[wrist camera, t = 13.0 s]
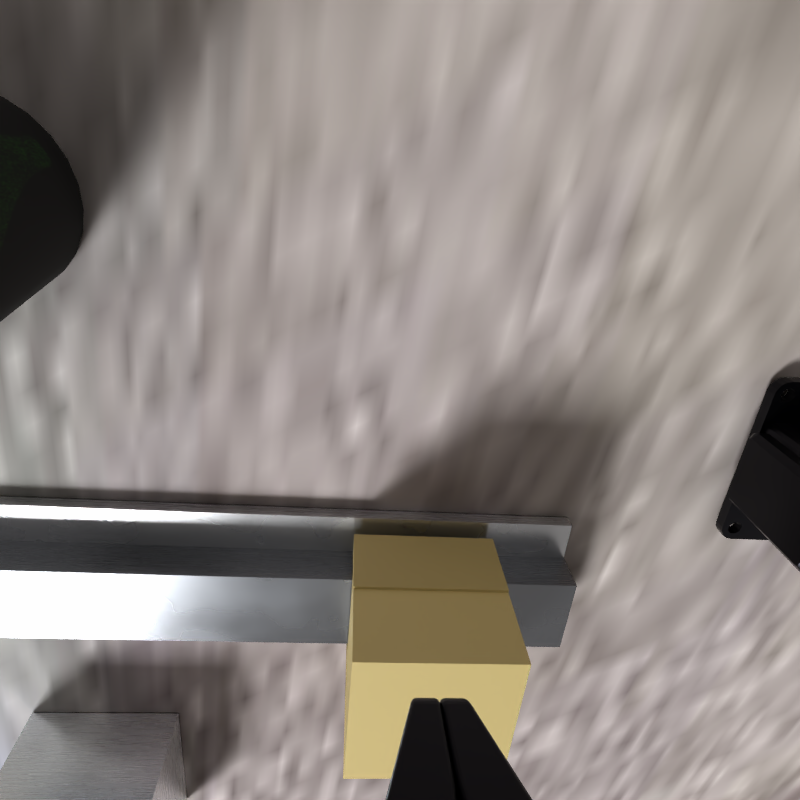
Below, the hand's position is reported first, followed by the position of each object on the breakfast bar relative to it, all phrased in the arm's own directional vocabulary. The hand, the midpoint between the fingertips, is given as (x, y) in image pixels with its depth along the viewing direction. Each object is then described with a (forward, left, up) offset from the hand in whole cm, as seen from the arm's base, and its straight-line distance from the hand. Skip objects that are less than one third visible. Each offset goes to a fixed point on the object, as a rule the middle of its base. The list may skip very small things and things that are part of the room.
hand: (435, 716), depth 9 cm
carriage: (-2, +8, -12) cm, 14 cm away
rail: (+4, +8, -12) cm, 15 cm away
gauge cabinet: (+11, +19, -12) cm, 25 cm away
